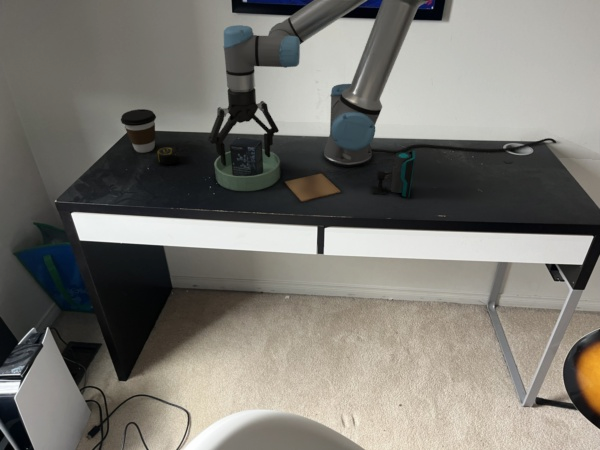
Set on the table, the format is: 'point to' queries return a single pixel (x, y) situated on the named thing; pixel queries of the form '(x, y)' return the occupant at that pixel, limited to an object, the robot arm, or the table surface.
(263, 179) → the bowl
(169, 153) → the tape measure
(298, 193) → the mat
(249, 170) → the box
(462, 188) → the table surface
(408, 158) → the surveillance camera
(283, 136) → the table surface
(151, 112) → the coffee cup
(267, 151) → the robot arm
